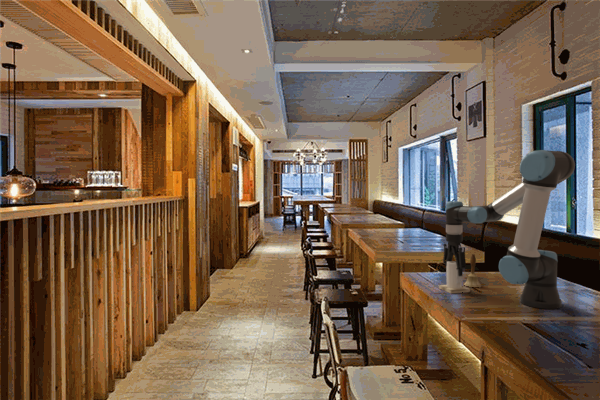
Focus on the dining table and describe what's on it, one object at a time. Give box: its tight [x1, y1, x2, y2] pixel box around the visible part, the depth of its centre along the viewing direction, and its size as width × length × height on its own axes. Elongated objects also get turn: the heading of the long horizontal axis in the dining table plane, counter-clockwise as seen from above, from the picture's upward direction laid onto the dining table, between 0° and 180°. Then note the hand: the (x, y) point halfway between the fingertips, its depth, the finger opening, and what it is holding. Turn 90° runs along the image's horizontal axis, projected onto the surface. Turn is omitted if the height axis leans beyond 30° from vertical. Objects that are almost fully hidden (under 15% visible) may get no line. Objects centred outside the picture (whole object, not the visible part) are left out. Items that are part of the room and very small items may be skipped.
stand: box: [438, 284, 471, 294], centre depth 197 cm, size 10×10×10 cm
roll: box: [446, 260, 463, 289], centre depth 197 cm, size 7×7×12 cm
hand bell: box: [463, 253, 482, 288], centre depth 206 cm, size 8×8×16 cm
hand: (454, 280), depth 197 cm, fingers open, 7 cm apart
